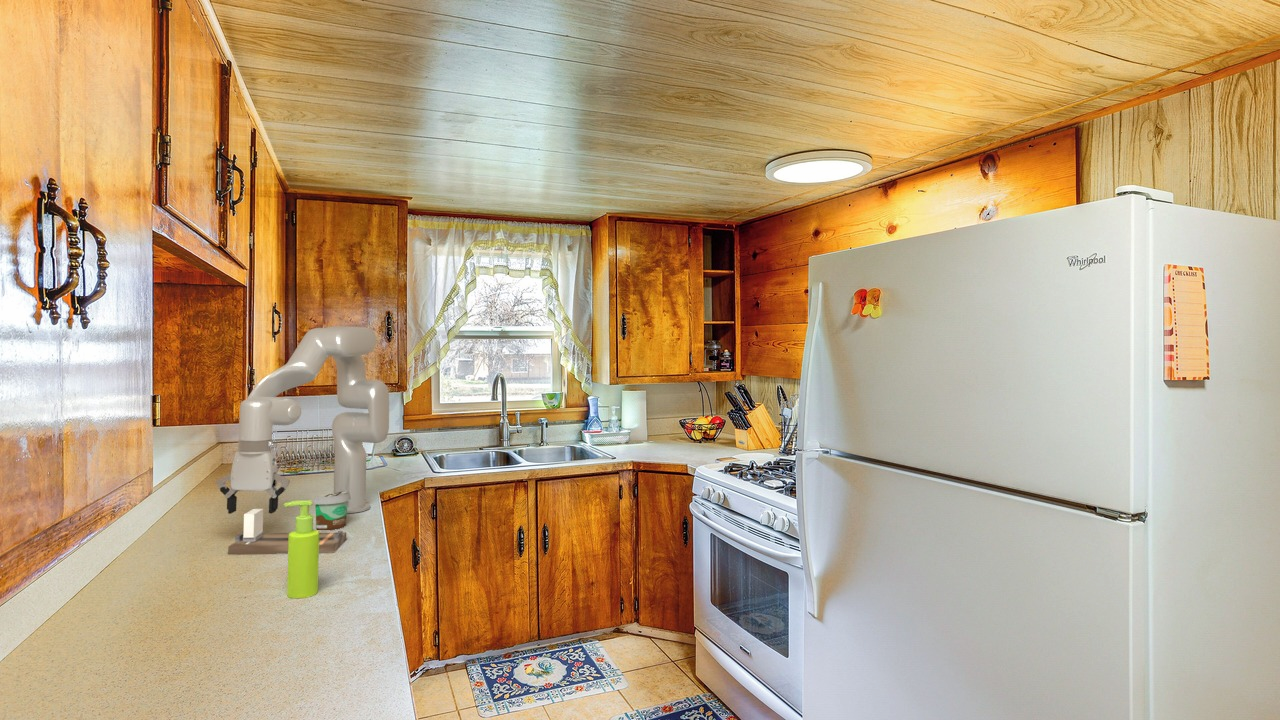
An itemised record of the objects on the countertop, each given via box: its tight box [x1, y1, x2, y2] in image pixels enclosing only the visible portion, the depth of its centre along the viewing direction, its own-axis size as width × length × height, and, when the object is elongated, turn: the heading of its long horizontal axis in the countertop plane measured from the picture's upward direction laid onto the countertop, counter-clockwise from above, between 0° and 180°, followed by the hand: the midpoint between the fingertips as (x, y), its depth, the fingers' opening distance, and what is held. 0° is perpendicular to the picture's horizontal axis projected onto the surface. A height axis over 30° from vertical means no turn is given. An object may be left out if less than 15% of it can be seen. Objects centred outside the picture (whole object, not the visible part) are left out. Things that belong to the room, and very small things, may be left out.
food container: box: [313, 489, 351, 531], centre depth 195 cm, size 12×6×10 cm, turn 168°
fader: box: [243, 508, 264, 542], centre depth 173 cm, size 6×3×7 cm, turn 10°
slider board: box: [227, 530, 347, 555], centre depth 175 cm, size 12×25×4 cm, turn 100°
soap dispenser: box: [283, 499, 320, 599], centre depth 143 cm, size 6×7×20 cm
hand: (252, 512), depth 173 cm, fingers open, 9 cm apart
